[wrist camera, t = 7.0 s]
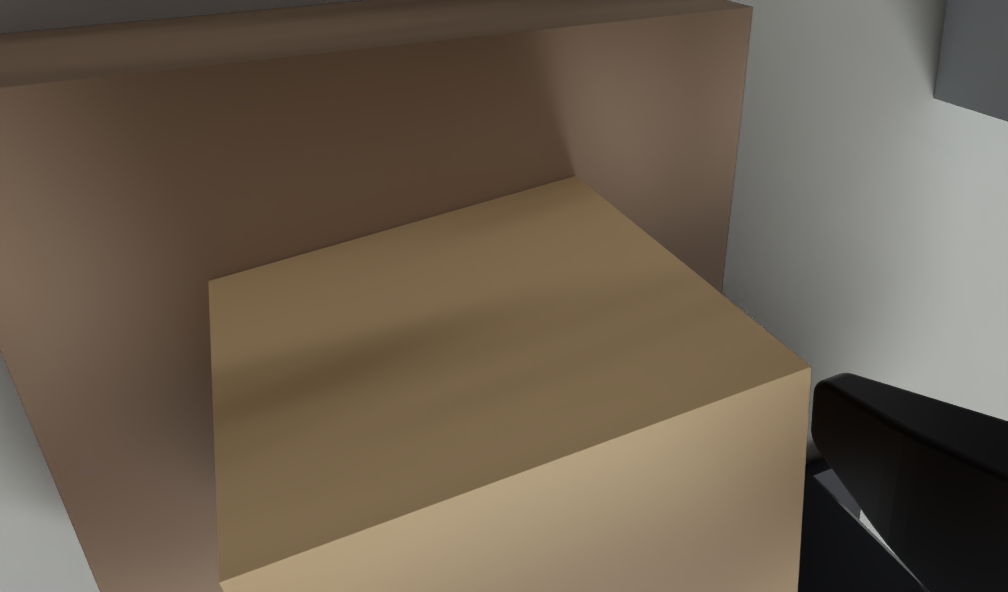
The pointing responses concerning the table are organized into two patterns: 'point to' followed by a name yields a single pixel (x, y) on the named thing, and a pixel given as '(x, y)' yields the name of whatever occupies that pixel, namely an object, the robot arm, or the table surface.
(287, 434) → the oak cube
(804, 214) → the table surface
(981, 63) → the grey cube
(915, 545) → the robot arm
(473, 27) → the walnut block
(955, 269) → the table surface
